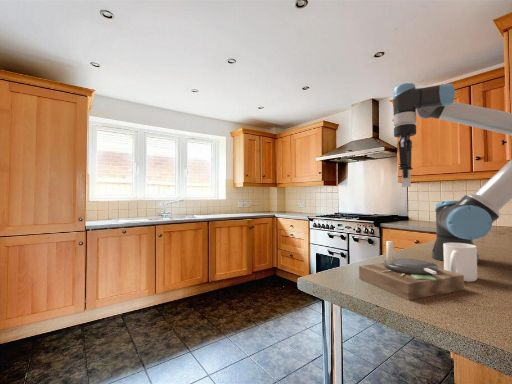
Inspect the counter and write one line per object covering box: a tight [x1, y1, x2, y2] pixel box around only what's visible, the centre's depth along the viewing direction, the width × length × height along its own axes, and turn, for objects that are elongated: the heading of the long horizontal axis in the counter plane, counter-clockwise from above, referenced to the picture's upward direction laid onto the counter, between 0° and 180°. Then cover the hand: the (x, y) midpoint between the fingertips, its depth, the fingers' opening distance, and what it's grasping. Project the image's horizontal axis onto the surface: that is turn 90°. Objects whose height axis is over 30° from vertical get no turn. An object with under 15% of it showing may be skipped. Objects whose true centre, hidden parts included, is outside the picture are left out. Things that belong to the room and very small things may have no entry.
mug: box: [443, 243, 478, 282], centre depth 82 cm, size 12×8×10 cm
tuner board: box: [358, 262, 465, 301], centre depth 78 cm, size 20×18×4 cm
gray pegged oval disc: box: [383, 240, 439, 275], centre depth 78 cm, size 18×14×8 cm
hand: (406, 186), depth 101 cm, fingers closed
